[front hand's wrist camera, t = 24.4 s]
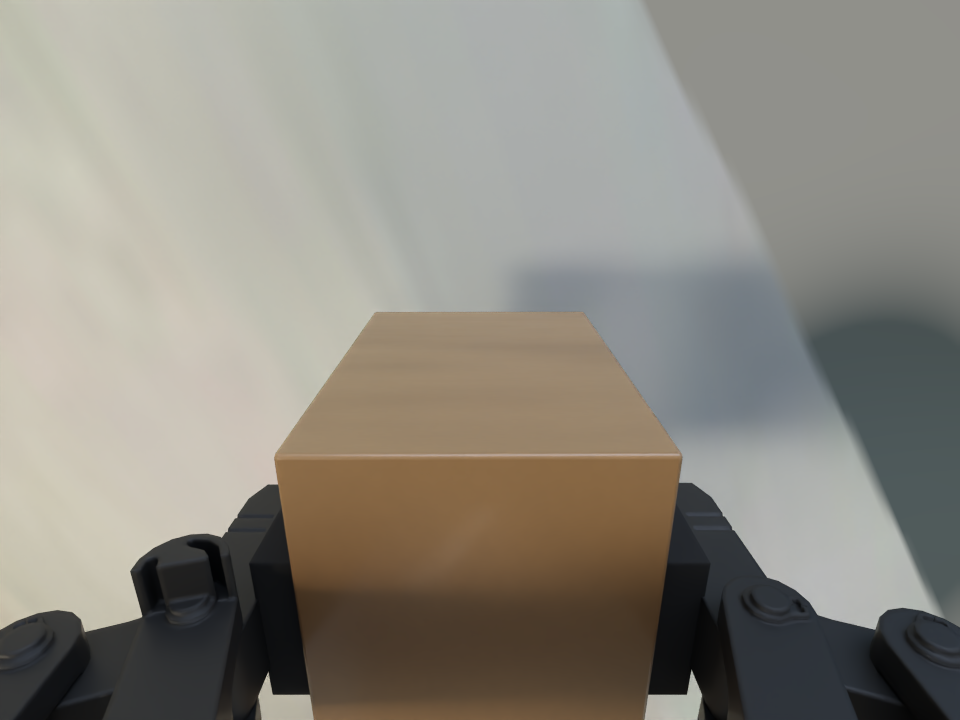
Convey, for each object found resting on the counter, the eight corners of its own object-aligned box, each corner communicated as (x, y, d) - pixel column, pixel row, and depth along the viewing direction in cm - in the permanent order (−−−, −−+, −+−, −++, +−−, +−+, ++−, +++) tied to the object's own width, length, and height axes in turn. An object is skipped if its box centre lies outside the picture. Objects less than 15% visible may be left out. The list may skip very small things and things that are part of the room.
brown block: (569, 528, 16) (634, 796, 9) (389, 529, 16) (323, 796, 9) (584, 311, 14) (685, 454, 7) (374, 311, 14) (271, 455, 7)
